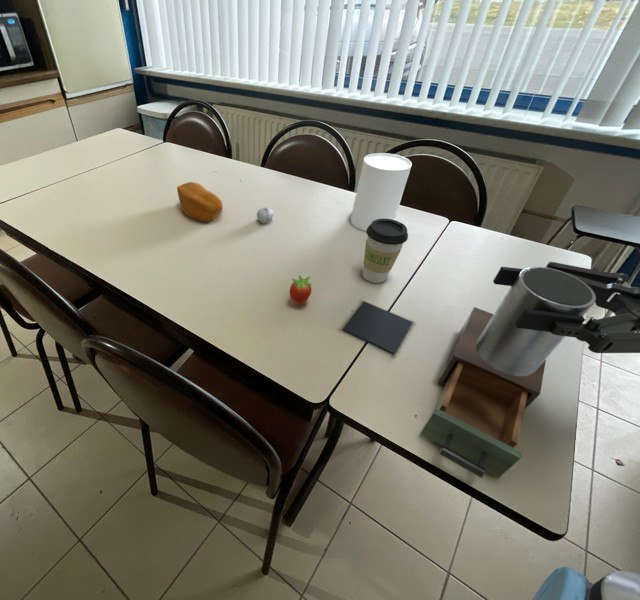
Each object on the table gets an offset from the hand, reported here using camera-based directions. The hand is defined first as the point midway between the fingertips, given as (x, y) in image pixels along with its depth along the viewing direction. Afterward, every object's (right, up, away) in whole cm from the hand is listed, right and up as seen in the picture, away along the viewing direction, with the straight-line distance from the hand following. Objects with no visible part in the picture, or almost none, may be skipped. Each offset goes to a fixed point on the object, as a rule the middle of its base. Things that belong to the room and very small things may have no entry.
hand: (508, 295), depth 51 cm
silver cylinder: (+5, -9, +7) cm, 12 cm away
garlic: (-29, +25, +71) cm, 80 cm away
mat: (-5, -7, +34) cm, 35 cm away
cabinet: (+12, -16, +24) cm, 31 cm away
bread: (-50, +30, +76) cm, 96 cm away
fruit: (-23, -1, +40) cm, 46 cm away
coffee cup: (-1, +6, +49) cm, 49 cm away
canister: (+6, +25, +70) cm, 75 cm away
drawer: (+2, -24, +14) cm, 27 cm away
